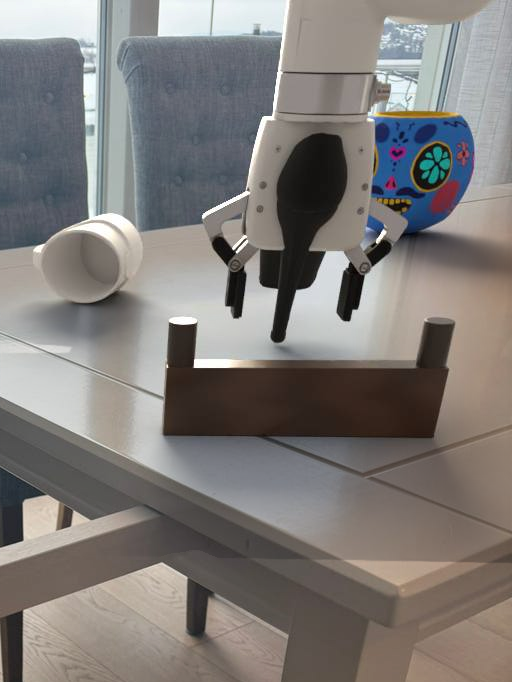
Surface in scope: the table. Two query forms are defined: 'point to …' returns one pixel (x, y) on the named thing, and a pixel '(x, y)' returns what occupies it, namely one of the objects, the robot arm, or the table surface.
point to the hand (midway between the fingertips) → (289, 316)
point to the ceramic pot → (421, 165)
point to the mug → (90, 258)
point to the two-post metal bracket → (304, 391)
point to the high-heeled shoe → (302, 219)
